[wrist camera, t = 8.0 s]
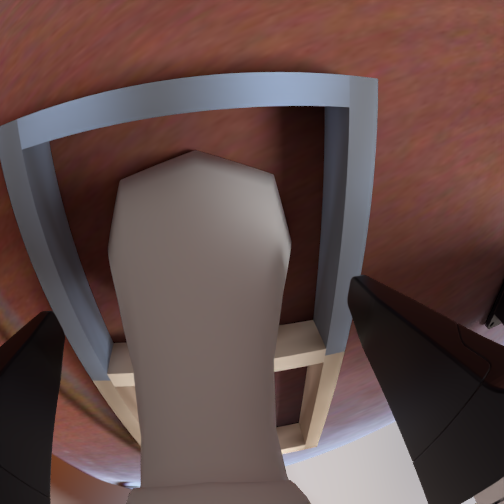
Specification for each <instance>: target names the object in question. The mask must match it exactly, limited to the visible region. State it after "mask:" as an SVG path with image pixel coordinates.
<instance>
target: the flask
mask: <svg viewBox="0 0 504 504" xmlns="http://www.w3.org/2000/svg"><path fill="white" fill-rule="evenodd" d="M291 242H292V241H291V237H290V233H289V229H288V226H287V222H286V218H285V214H284V210H283V207H282V203H281V199H280V195H279V192H278V188H277V184H276V181H275V177H274V174H271V173H268V172H265V171H262V170H259V169H256V168H253V167H250V166H247V165H243V164H240V163H237V162H234V161H231V160H227V159H224V158H221V157H218V156H214V155H211V154H207V153H204V152H200V151H197V150H194V151H192V152H189V153H186V154H184V155H181V156H178V157H176V158H173V159H170V160H168V161H165V162H163V163H160V164H158V165H155V166H153V167H150V168H148V169H145V170H143V171H141V172H138V173H136V174H133V175H131V176H129V177H126V178H124V179H122V180H120V182H119V187H118V192H117V197H116V202H115V207H114V212H113V218H112V224H111V230H110V237H109V243H108V256H109V263H110V268H111V273H112V277H113V282H114V286H115V291H116V295H117V299H118V304H119V309H120V314H121V319H122V324H123V328H124V333H125V337H126V342H127V346H128V350H129V354H130V358H131V362H132V366H133V370H134V382H135V392H136V402H137V410H138V418H139V426H140V433H141V486H140V488H133V490H132V491H131V492H130V493H129V496H128V500H127V503H126V504H311V503H310V502H309V500H308V498H307V497H306V496H305V495H304V494H303V492H302V491H301V490H300V489H299V488H298V487H297V486H296V484H294V483H293V482H292V481H291V480H288V477H287V474H286V470H285V465H284V461H283V457H282V452H281V448H280V444H279V439H278V435H277V430H276V406H275V382H274V357H275V350H276V343H277V336H278V328H279V321H280V313H281V306H282V298H283V291H284V286H285V280H286V275H287V269H288V264H289V258H290V251H291Z"/></svg>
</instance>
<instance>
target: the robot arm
mask: <svg viewBox="0 0 504 504" xmlns="http://www.w3.org/2000/svg"><path fill="white" fill-rule="evenodd" d="M347 303H348V307H349V310H350V313H351V316H352V319H353V321H354V324H355V327H356V330H357V333H358V336H359V339H360V342H361V344H362V347H363V349H364V351H365V354H366V356H367V358H368V360H369V362H370V364H371V366H372V369H373V371H374V373H375V375H376V377H377V379H378V382H379V384H380V386H381V388H382V390H383V393H384V395H385V397H386V399H387V402H388V404H389V406H390V409H391V411H392V413H393V415H394V418H395V420H396V422H397V425H398V427H399V429H400V432H401V434H402V437H403V439H404V441H405V444H406V446H407V449H408V451H409V454H410V456H411V459H412V461H414V462H413V464H414V467H415V469H416V472H417V475H418V477H419V480H420V482H421V485H422V487H423V490H424V493H425V496H426V499H427V501H428V504H461V503H463V502H464V501H466V500H468V499H470V498H472V497H473V496H474V498H475V500H476V502H477V503H475V504H504V346H503V345H500V344H498V343H496V342H494V341H492V340H490V339H487V338H485V337H483V336H481V335H479V334H477V333H475V332H473V331H471V330H470V329H468V328H466V327H464V326H462V325H460V324H457V323H456V322H455V321H453V320H451V319H449V318H447V317H445V316H443V315H442V314H440V313H438V312H436V311H434V310H432V309H430V308H428V307H426V306H424V305H423V304H421V303H419V302H417V301H415V300H413V299H411V298H409V297H407V296H405V295H403V294H401V293H399V292H398V291H396V290H394V289H392V288H390V287H388V286H386V285H384V284H382V283H380V282H378V281H376V280H374V279H372V278H370V277H368V276H366V275H359V276H354V277H352V278H351V281H350V286H349V292H348V298H347ZM501 323H502V324H503V325H504V284H503V286H502V289H501V291H500V294H499V296H498V298H497V300H496V303H495V305H494V307H493V309H492V311H491V313H490V315H489V318H488V320H487V322H486V324H485V326H486V327H487V328H488V329H490V328H492V327H495V326H497V325H499V324H501ZM64 341H65V334H64V330H63V328H62V326H61V324H60V323H59V321H58V319H57V317H56V315H55V313H54V312H52V311H43V312H41V313H39V314H38V315H37V316H36V317H34V318H33V319H32V320H31V321H30V322H28V323H27V324H26V325H25V326H24V327H23V328H21V329H20V330H19V331H18V332H17V333H16V334H14V335H13V336H12V337H11V338H10V339H9V340H8V341H6V342H5V343H4V344H3V345H2V346H1V347H0V504H50V475H51V455H52V442H53V432H54V423H55V414H56V407H57V400H58V394H59V387H60V381H61V371H62V360H63V350H64Z"/></svg>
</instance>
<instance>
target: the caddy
mask: <svg viewBox="0 0 504 504" xmlns="http://www.w3.org/2000/svg"><path fill="white" fill-rule="evenodd" d="M265 106H325V144H324V180H323V203H322V222H321V237H320V251H319V264H318V276H317V287H316V298H315V307H314V317H313V320H309V321H304V322H298V323H292V324H286V325H279V328H278V336H277V343H276V350H275V357H274V372H277V371H283V370H288V369H294V368H299V367H304V366H307V373H306V380H305V387H304V394H303V400H302V406H301V413H300V419H299V423H296V424H291V425H286V426H281V427H276V430H277V435H278V439H279V444H280V448H281V452H282V454H285V453H290V452H295V451H300V450H304V449H309V448H313V447H317V445H318V442H319V439H320V436H321V433H322V430H323V427H324V423H325V420H326V417H327V414H328V411H329V407H330V404H331V400H332V397H333V394H334V390H335V386H336V383H337V379H338V375H339V372H340V368H341V364H342V360H343V356H344V352H345V348H346V344H347V340H348V335H349V331H350V326H351V322H352V316H351V313H350V310H349V307H348V303H347V298H348V292H349V286H350V281H351V278H352V277H354V276H359V275H361V270H362V264H363V258H364V252H365V245H366V238H367V231H368V224H369V216H370V207H371V199H372V189H373V178H374V167H375V153H376V137H377V113H378V79H376V78H368V77H359V76H349V75H338V74H324V73H304V72H251V73H230V74H216V75H205V76H195V77H186V78H178V79H171V80H164V81H158V82H152V83H146V84H140V85H135V86H130V87H125V88H120V89H116V90H111V91H107V92H103V93H99V94H95V95H91V96H87V97H83V98H80V99H76V100H72V101H69V102H66V103H62V104H59V105H56V106H53V107H50V108H47V109H44V110H41V111H38V112H35V113H32V114H30V115H27V116H24V117H22V118H19V119H16V120H14V121H11V122H9V123H7V124H4V125H2V126H0V160H1V165H2V169H3V174H4V178H5V182H6V186H7V190H8V193H9V197H10V201H11V204H12V208H13V211H14V214H15V217H16V221H17V224H18V227H19V230H20V233H21V236H22V238H23V241H24V244H25V247H26V249H27V252H28V255H29V257H30V260H31V262H32V265H33V267H34V270H35V272H36V275H37V277H38V279H39V282H40V284H41V286H42V289H43V291H44V293H45V295H46V297H47V299H48V302H49V304H50V306H51V308H52V310H53V312H54V313H55V315H56V317H57V319H58V321H59V323H60V324H61V326H62V328H63V330H64V333H65V335H66V337H67V339H68V341H69V342H70V344H71V346H72V348H73V349H74V351H75V353H76V355H77V356H78V358H79V360H80V361H81V363H82V365H83V366H84V368H85V370H86V371H87V373H88V374H89V376H90V377H91V379H92V381H93V382H94V384H95V385H96V387H97V388H98V390H99V391H100V393H101V394H102V396H103V397H104V399H105V400H106V401H107V403H108V404H109V406H110V407H111V408H112V410H113V411H114V413H115V414H116V415H117V417H118V418H119V419H120V421H121V422H122V423H123V425H124V426H125V427H126V428H127V430H128V431H129V432H130V434H131V435H132V436H133V437H134V439H135V440H136V441H137V442H138V443H139V445H140V446H141V433H140V426H139V418H138V410H137V402H136V392H135V382H134V370H133V366H132V362H131V358H130V354H129V350H128V346H127V342H125V343H113V341H112V339H111V337H110V334H109V332H108V330H107V328H106V325H105V323H104V321H103V319H102V316H101V314H100V312H99V309H98V307H97V304H96V302H95V299H94V297H93V294H92V292H91V289H90V287H89V284H88V281H87V279H86V276H85V273H84V270H83V268H82V265H81V262H80V259H79V256H78V253H77V250H76V247H75V244H74V241H73V238H72V234H71V231H70V228H69V224H68V221H67V217H66V214H65V210H64V207H63V203H62V199H61V195H60V191H59V187H58V183H57V178H56V174H55V169H54V164H53V159H52V154H51V149H50V144H49V141H51V140H54V139H58V138H62V137H65V136H69V135H73V134H76V133H80V132H84V131H88V130H93V129H97V128H101V127H106V126H111V125H115V124H120V123H125V122H131V121H136V120H142V119H147V118H153V117H160V116H166V115H174V114H181V113H189V112H198V111H207V110H218V109H230V108H245V107H265Z"/></svg>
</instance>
